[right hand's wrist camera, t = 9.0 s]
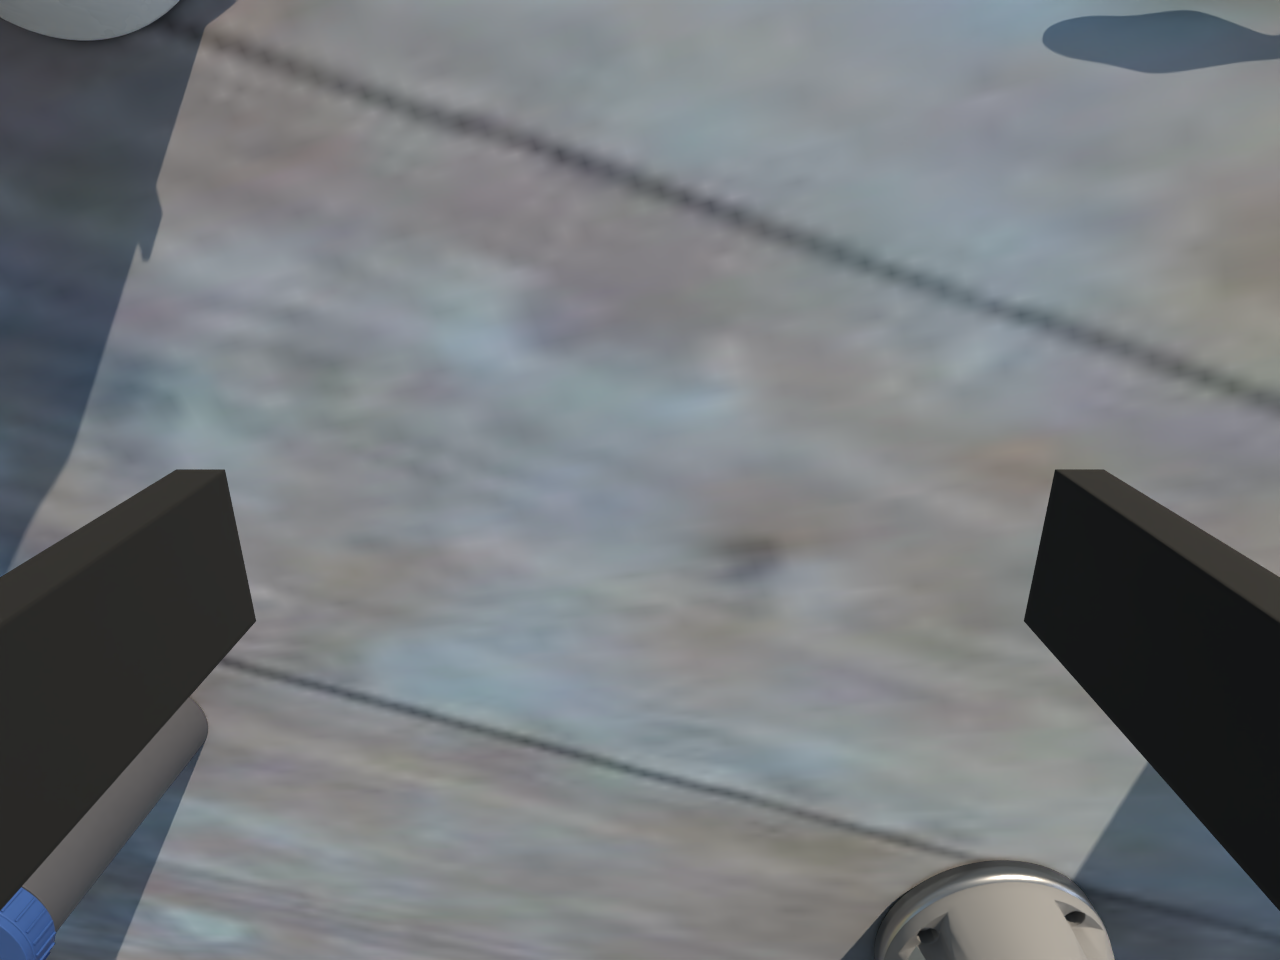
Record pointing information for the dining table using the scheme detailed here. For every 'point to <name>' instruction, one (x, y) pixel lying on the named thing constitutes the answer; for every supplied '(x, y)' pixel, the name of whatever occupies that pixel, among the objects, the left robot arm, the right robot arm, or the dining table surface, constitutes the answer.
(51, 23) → the left robot arm
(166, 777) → the jar
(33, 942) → the lid
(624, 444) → the dining table surface
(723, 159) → the dining table surface
